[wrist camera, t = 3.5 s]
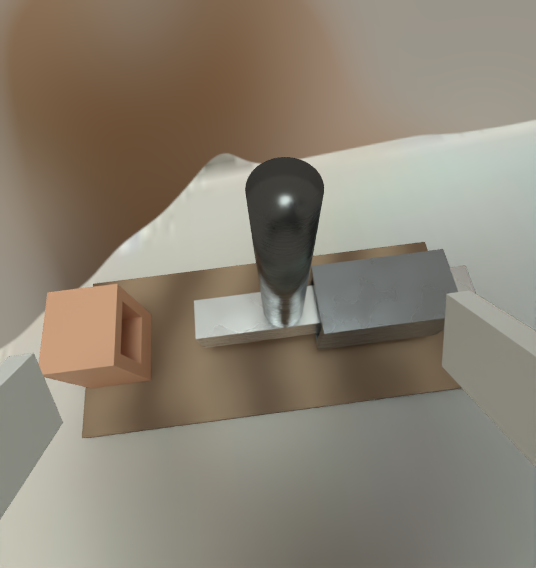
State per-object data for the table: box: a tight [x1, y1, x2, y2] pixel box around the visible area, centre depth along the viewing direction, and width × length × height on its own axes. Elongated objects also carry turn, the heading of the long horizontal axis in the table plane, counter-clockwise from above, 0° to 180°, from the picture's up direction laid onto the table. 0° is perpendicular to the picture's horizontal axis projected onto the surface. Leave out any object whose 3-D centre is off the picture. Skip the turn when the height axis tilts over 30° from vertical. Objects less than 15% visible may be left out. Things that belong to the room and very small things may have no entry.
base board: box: [82, 242, 462, 438], centre depth 26 cm, size 26×11×1 cm, turn 97°
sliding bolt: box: [194, 157, 476, 348], centre depth 17 cm, size 17×2×14 cm, turn 97°
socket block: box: [39, 284, 151, 388], centre depth 23 cm, size 4×5×6 cm
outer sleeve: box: [308, 249, 458, 350], centre depth 23 cm, size 8×4×6 cm, turn 97°
